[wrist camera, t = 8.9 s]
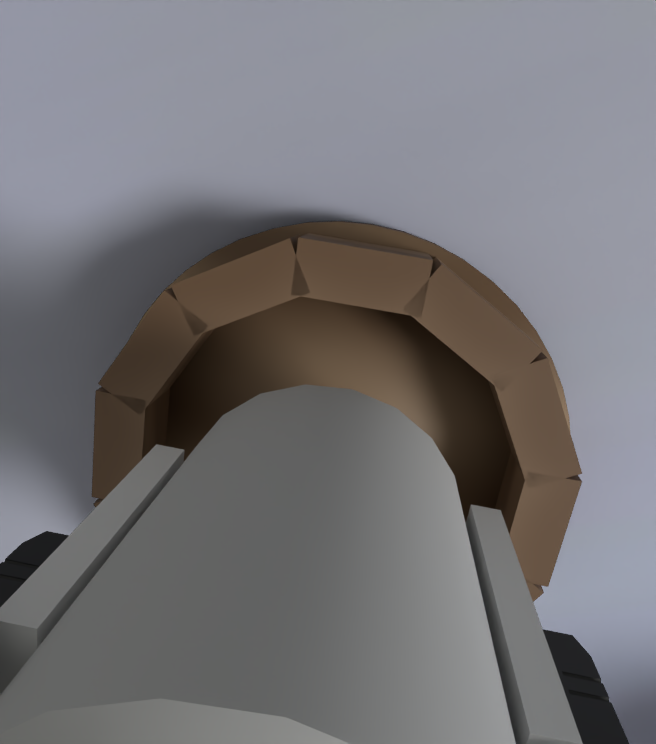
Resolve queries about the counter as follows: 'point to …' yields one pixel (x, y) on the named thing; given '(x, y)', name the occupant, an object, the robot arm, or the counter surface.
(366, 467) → the can
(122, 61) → the counter surface
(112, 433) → the tray
